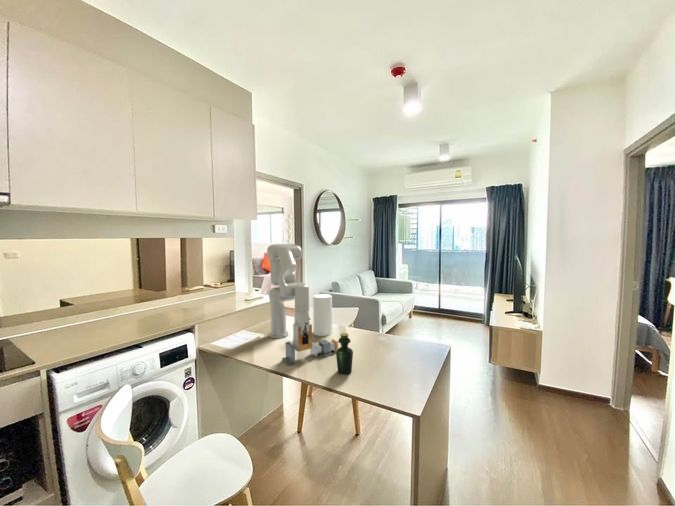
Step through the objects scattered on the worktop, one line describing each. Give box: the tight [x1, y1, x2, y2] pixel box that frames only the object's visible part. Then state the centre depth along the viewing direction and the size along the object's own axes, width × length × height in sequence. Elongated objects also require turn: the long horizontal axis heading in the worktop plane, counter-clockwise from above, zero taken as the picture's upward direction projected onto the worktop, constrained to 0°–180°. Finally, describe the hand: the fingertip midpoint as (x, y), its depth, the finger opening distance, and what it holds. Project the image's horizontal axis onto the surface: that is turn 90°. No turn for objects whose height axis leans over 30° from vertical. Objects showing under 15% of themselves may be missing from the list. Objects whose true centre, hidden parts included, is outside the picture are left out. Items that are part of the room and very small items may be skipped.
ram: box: [310, 338, 339, 358], centre depth 156 cm, size 6×14×6 cm, turn 121°
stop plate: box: [281, 341, 296, 367], centre depth 145 cm, size 8×4×9 cm, turn 31°
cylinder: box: [312, 293, 333, 337], centre depth 189 cm, size 12×12×25 cm
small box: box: [292, 323, 313, 353], centre depth 149 cm, size 8×6×13 cm
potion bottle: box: [335, 332, 354, 376], centre depth 134 cm, size 8×8×18 cm
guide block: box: [317, 339, 333, 358], centre depth 156 cm, size 9×5×6 cm, turn 31°
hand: (302, 341), depth 149 cm, fingers closed on small box, 6 cm apart
